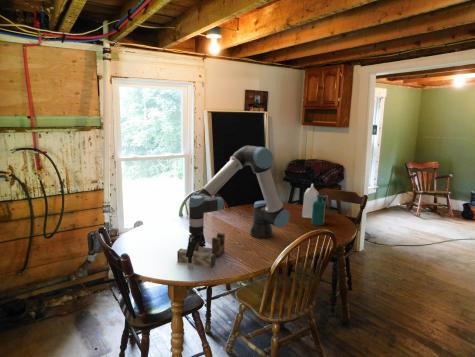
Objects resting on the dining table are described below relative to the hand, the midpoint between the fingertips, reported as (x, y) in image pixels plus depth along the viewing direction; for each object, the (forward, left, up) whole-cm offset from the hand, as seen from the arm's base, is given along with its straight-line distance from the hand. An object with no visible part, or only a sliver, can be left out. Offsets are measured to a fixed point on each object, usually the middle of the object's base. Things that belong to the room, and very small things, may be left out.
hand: (196, 262), depth 179 cm
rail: (0, 0, 0) cm, 0 cm away
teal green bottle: (-58, -93, 0) cm, 110 cm away
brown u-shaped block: (0, -15, 0) cm, 15 cm away
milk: (-50, -111, 0) cm, 122 cm away
